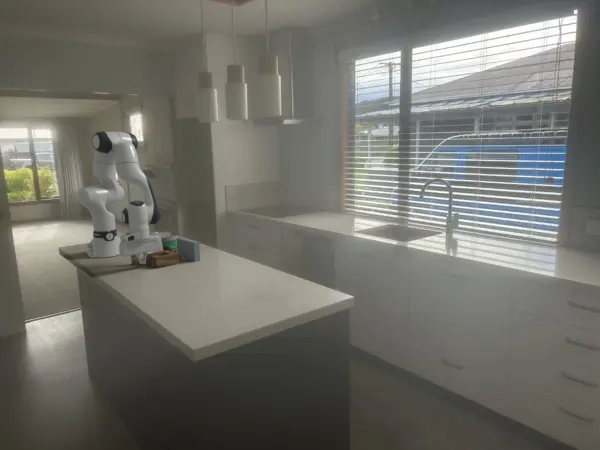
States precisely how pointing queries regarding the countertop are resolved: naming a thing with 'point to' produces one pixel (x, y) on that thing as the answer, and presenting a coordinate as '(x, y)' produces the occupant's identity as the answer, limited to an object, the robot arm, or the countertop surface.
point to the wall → (188, 249)
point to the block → (162, 258)
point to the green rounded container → (170, 243)
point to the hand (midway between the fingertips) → (142, 261)
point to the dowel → (134, 260)
